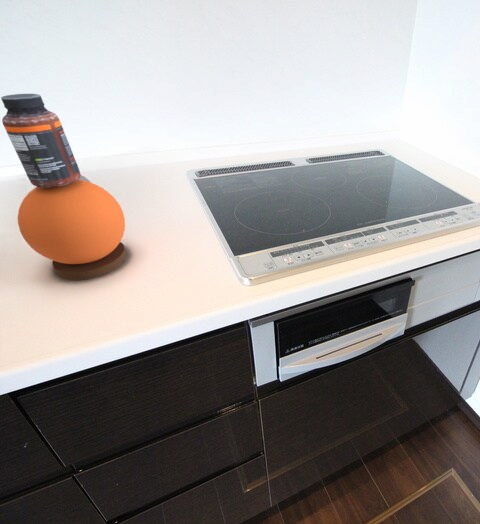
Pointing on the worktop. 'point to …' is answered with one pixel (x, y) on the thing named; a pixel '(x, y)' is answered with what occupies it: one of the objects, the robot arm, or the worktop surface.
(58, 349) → the worktop surface
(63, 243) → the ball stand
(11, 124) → the supplement bottle
